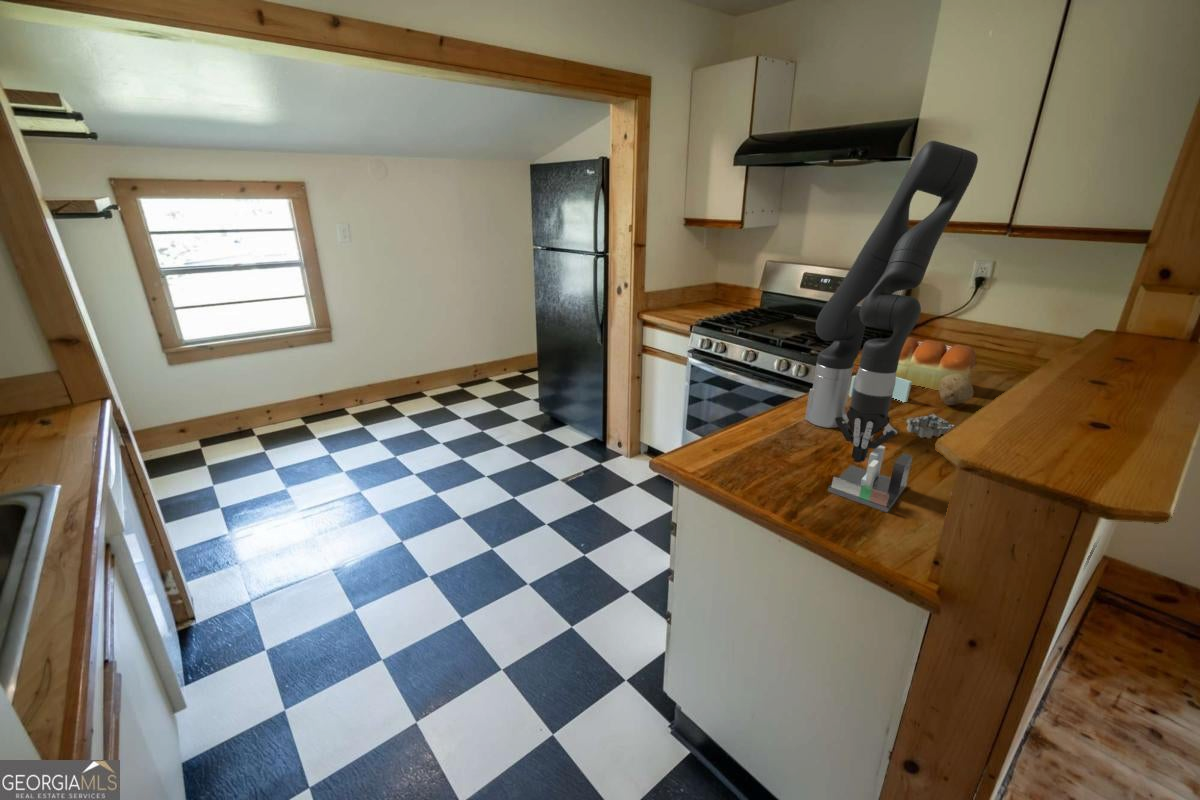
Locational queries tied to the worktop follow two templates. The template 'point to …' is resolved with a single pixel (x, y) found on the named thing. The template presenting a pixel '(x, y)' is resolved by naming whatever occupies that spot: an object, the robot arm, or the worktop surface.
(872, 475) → the bar
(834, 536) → the worktop surface
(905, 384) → the l-shaped corner panel
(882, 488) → the stand
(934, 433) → the jagged gray rock
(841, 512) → the worktop surface
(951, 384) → the natural sponge
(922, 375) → the bread
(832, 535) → the worktop surface
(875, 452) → the block
